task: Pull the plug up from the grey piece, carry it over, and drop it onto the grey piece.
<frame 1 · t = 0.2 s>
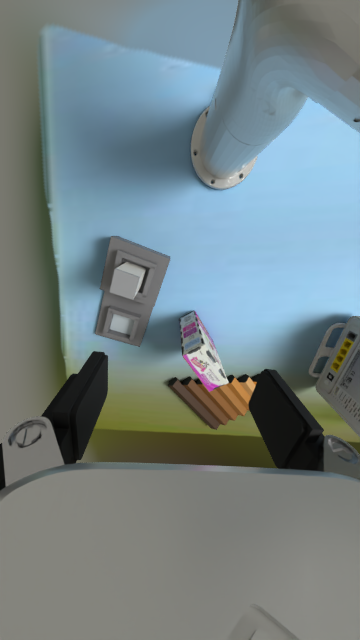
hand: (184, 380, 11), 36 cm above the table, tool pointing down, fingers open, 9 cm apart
pan flute: (222, 385, 60), on the table
grey piece: (130, 297, 46), on the table
network device: (330, 351, 56), on the table
candy bar box: (196, 330, 51), on the table
plug: (134, 274, 39), point 5 cm above the table, touching grey piece
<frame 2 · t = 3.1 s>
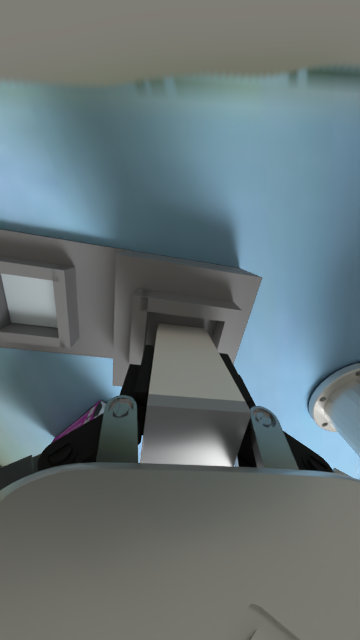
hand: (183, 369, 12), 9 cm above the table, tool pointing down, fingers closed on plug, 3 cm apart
grey piece: (112, 307, 20), on the table
candy bar box: (89, 425, 27), on the table
plug: (178, 347, 16), point 5 cm above the table, tilted 5°, touching grey piece, gripper
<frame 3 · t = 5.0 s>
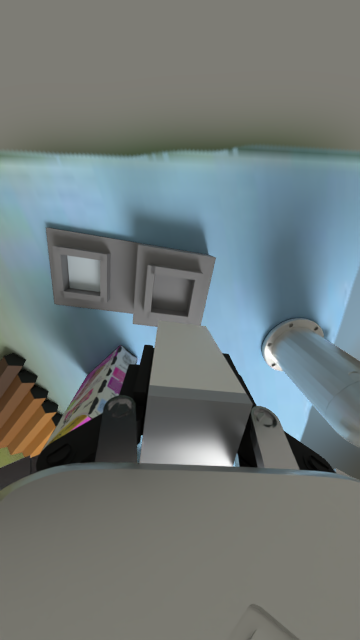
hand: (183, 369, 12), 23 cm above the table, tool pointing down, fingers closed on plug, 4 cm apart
pan flute: (44, 412, 44), on the table
grey piece: (130, 279, 32), on the table
candy bar box: (111, 365, 39), on the table
plug: (178, 345, 16), point 19 cm above the table, tilted 7°, touching gripper
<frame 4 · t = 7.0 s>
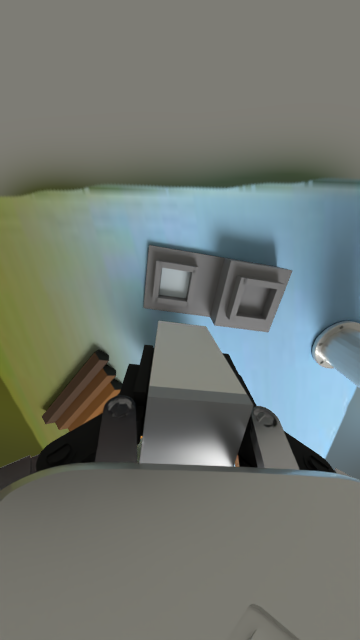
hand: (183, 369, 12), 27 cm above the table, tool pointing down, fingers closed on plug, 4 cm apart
pan flute: (114, 403, 50), on the table
grey piece: (208, 287, 37), on the table
plug: (178, 345, 16), point 23 cm above the table, tilted 6°, touching gripper
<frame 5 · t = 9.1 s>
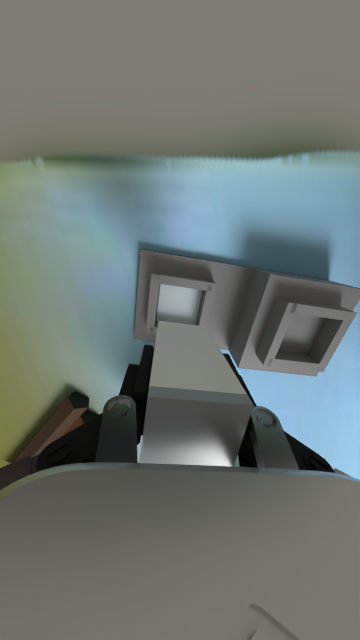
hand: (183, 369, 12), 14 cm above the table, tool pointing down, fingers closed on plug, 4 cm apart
pan flute: (99, 452, 38), on the table
grey piece: (228, 309, 26), on the table
plug: (178, 345, 16), point 10 cm above the table, tilted 6°, touching gripper
when the fingers open (7 cm above the table, at t = 11.0 s): plug drops 2 cm, resting on grey piece.
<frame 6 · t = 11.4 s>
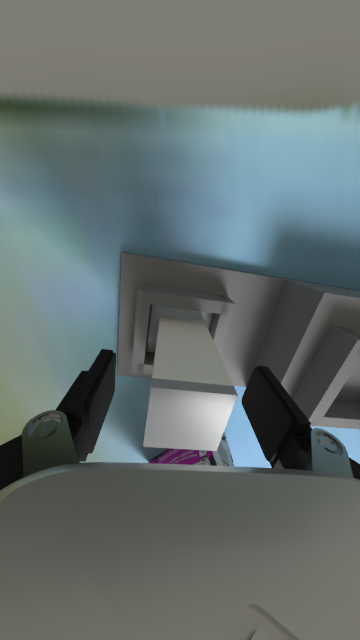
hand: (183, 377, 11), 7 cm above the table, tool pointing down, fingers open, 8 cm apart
grey piece: (246, 334, 19), on the table
candy bar box: (185, 449, 26), on the table
plug: (178, 336, 17), point 1 cm above the table, touching grey piece
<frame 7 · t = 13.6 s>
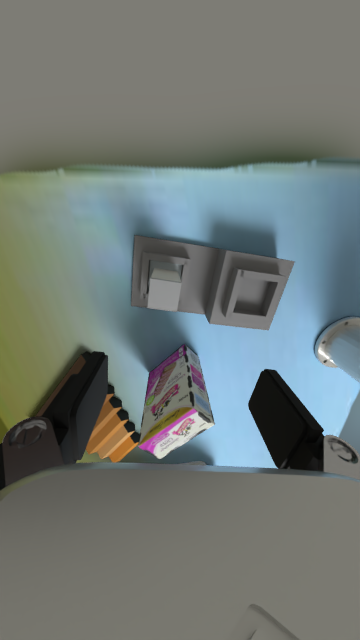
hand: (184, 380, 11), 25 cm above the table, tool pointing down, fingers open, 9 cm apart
pan flute: (106, 408, 46), on the table
grey piece: (202, 281, 34), on the table
candy bar box: (172, 363, 41), on the table
plug: (164, 281, 33), point 1 cm above the table, touching grey piece
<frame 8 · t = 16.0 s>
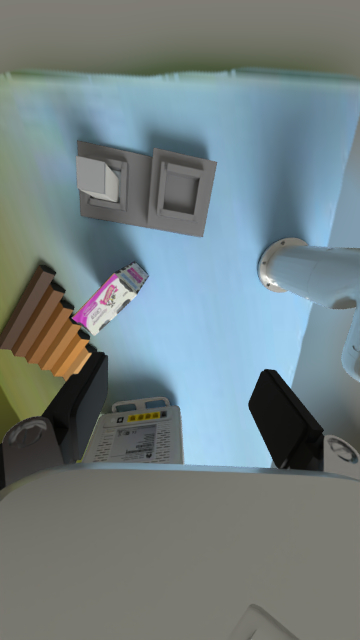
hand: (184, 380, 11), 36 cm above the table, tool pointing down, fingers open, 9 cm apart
pan flute: (70, 331, 50), on the table
grey piece: (145, 194, 38), on the table
network device: (141, 408, 62), on the table
candy bar box: (126, 283, 45), on the table
plug: (108, 189, 36), point 1 cm above the table, touching grey piece
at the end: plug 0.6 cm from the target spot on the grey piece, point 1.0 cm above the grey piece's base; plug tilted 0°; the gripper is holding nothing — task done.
